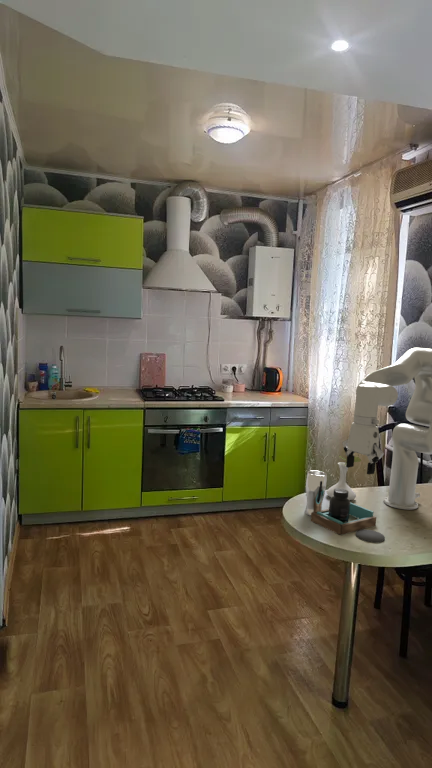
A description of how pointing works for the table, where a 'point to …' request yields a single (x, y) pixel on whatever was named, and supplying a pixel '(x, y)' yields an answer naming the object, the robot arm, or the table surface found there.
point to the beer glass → (315, 491)
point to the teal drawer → (352, 513)
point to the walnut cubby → (342, 528)
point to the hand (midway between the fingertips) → (360, 470)
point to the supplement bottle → (339, 505)
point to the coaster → (370, 536)
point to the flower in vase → (344, 479)
